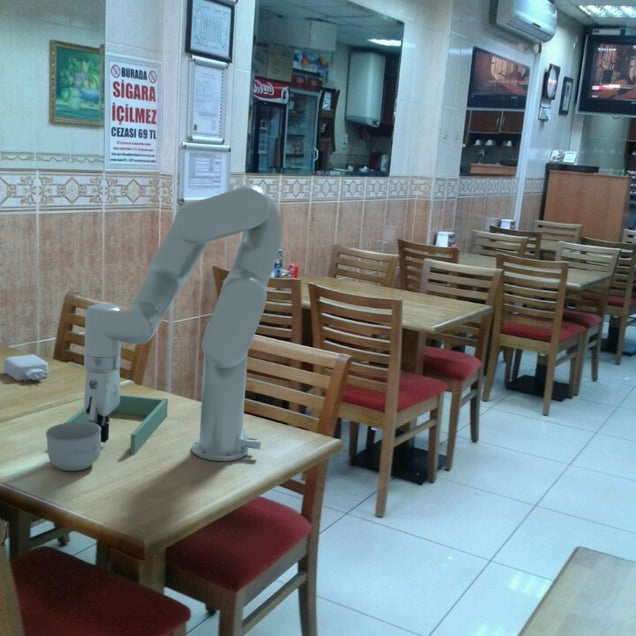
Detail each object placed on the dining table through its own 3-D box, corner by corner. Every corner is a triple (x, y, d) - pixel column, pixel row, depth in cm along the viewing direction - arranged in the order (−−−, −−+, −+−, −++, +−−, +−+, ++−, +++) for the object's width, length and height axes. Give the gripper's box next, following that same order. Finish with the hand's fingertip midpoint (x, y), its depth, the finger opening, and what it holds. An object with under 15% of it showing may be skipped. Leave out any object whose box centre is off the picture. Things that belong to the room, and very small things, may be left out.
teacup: (79, 480, 149) (80, 442, 147) (34, 469, 152) (34, 432, 151) (119, 456, 162) (120, 421, 160) (77, 446, 165) (77, 412, 164)
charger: (24, 388, 202) (4, 373, 213) (57, 383, 208) (36, 369, 219) (24, 371, 201) (3, 357, 212) (57, 367, 207) (36, 353, 218)
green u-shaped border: (167, 416, 189) (167, 399, 188) (134, 454, 164) (135, 434, 163) (101, 409, 190) (101, 392, 189) (59, 446, 165) (59, 426, 164)
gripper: (106, 372, 155) (104, 455, 159) (130, 354, 170) (128, 431, 174) (71, 368, 156) (69, 451, 160) (98, 351, 171) (96, 427, 174)
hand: (100, 440), depth 167 cm, fingers closed
